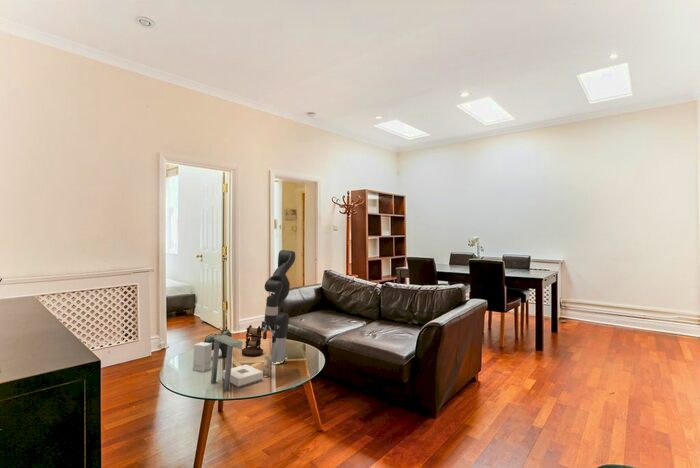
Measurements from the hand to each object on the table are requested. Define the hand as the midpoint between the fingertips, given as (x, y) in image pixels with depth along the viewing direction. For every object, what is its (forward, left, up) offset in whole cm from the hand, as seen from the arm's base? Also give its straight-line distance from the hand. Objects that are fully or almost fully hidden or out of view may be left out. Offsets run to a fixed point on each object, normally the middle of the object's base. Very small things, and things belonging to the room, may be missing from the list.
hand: (269, 340), depth 207 cm
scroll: (-18, -39, -21) cm, 48 cm away
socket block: (+14, -4, -21) cm, 26 cm away
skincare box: (+23, -33, -21) cm, 45 cm away
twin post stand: (+25, -4, -21) cm, 33 cm away
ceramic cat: (+6, -46, -21) cm, 51 cm away
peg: (0, 0, -21) cm, 21 cm away
